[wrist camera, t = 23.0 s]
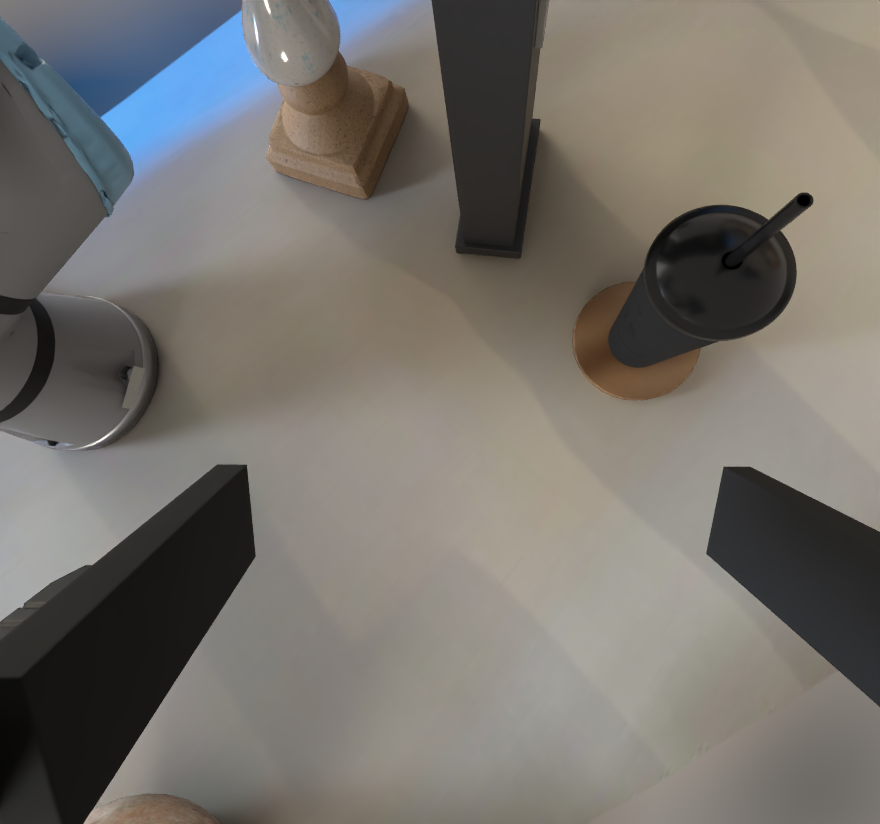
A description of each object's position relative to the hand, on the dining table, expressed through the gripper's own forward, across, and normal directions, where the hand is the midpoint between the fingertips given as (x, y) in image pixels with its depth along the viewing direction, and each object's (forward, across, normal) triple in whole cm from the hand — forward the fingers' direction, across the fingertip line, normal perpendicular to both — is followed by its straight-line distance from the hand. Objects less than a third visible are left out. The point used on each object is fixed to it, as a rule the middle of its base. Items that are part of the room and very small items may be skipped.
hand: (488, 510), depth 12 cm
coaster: (+26, +17, +3) cm, 31 cm away
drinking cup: (+26, +17, +3) cm, 31 cm away
